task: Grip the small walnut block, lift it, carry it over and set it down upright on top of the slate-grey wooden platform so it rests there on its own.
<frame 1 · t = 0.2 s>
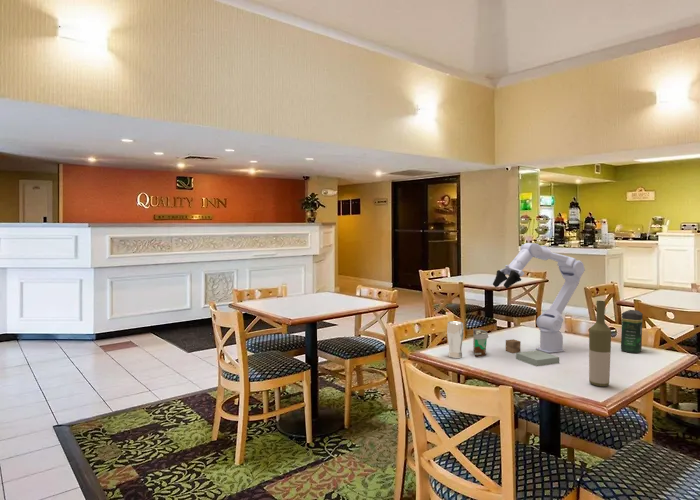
hand: (499, 286, 205), 31 cm above the table, tool tilted 45°, fingers open, 7 cm apart
coffee jar: (631, 351, 215), on the table
bottle: (599, 385, 169), on the table
food container: (481, 354, 211), on the table
beer glass: (455, 357, 207), on the table
grey platform: (537, 362, 200), on the table
walnut block: (512, 351, 215), on the table
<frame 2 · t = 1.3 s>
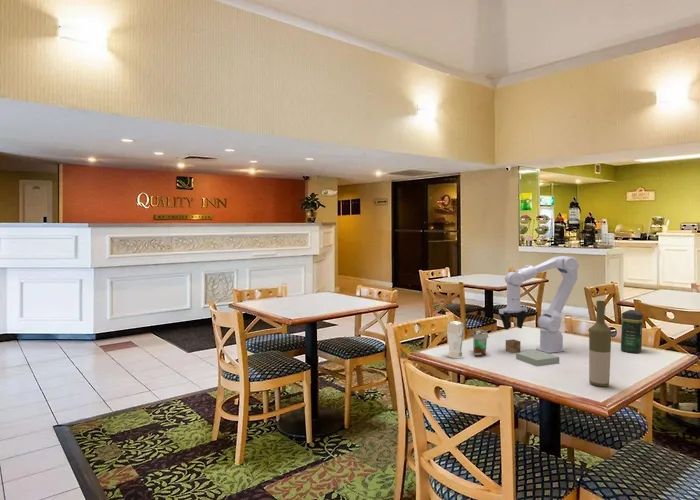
hand: (513, 328, 214), 10 cm above the table, tool pointing down, fingers open, 7 cm apart
nothing on the table moved.
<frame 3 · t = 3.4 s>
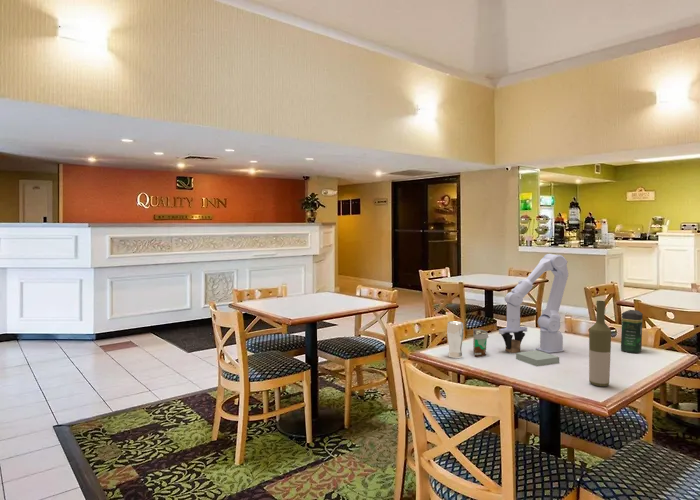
hand: (512, 348, 215), 1 cm above the table, tool pointing down, fingers closed on walnut block, 4 cm apart
walnut block: (512, 351, 215), on the table, touching gripper
everything else where it was.
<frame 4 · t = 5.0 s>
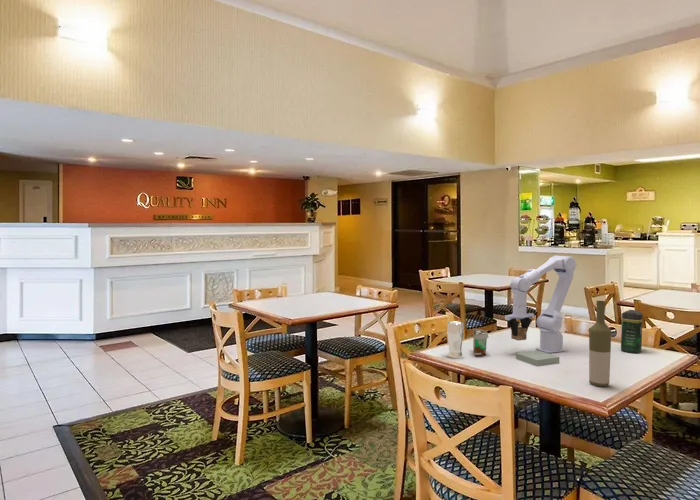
hand: (519, 335, 210), 8 cm above the table, tool pointing down, fingers closed on walnut block, 4 cm apart
walnut block: (518, 339, 211), point 7 cm above the table, touching gripper
everything else where it was.
when the fingers open (5 cm above the table, at t = 7.1 s): walnut block stays where it is, resting on grey platform.
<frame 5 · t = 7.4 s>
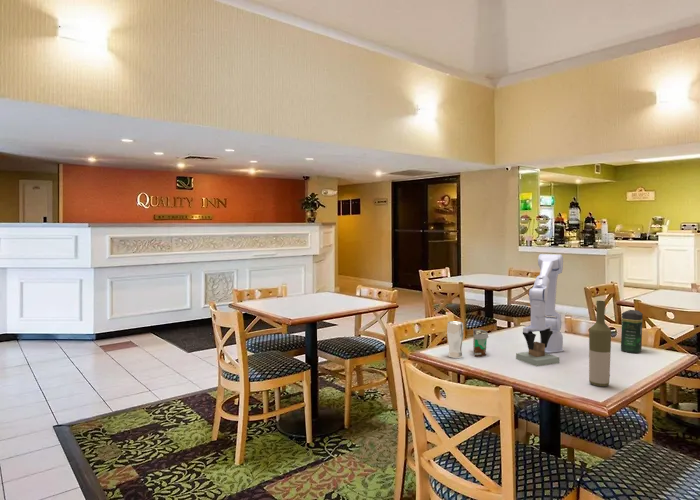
hand: (537, 348, 199), 5 cm above the table, tool pointing down, fingers open, 7 cm apart
grey platform: (537, 362, 200), on the table, touching walnut block
walnut block: (536, 355, 200), point 2 cm above the table, touching grey platform
everything else where it was.
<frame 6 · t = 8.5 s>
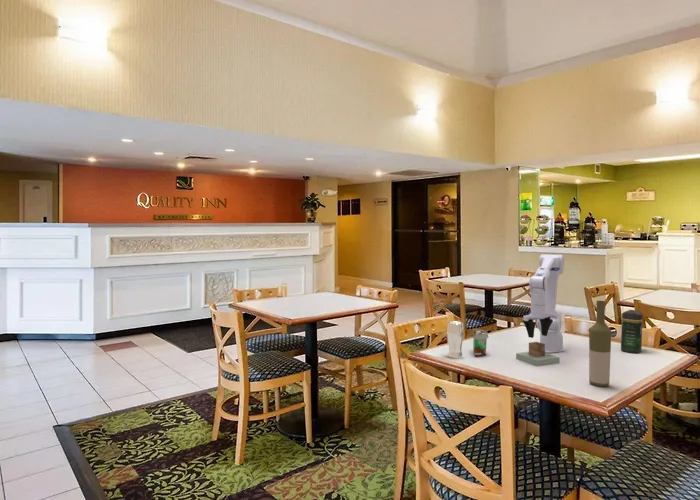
hand: (537, 336, 199), 10 cm above the table, tool pointing down, fingers open, 7 cm apart
nothing on the table moved.
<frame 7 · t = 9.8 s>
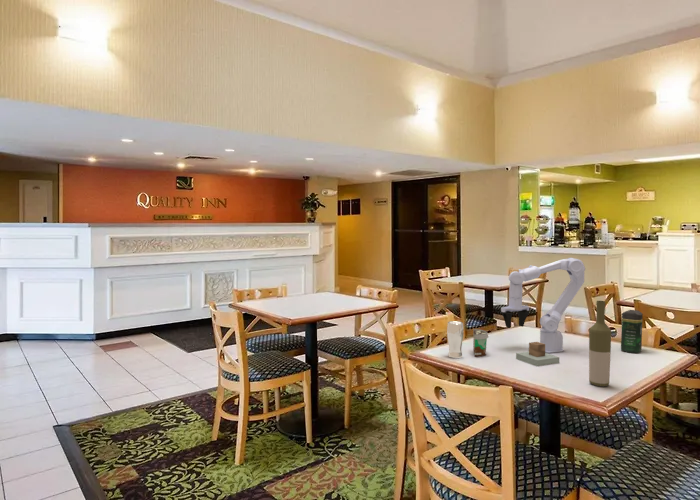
hand: (514, 326, 219), 10 cm above the table, tool pointing down, fingers open, 7 cm apart
nothing on the table moved.
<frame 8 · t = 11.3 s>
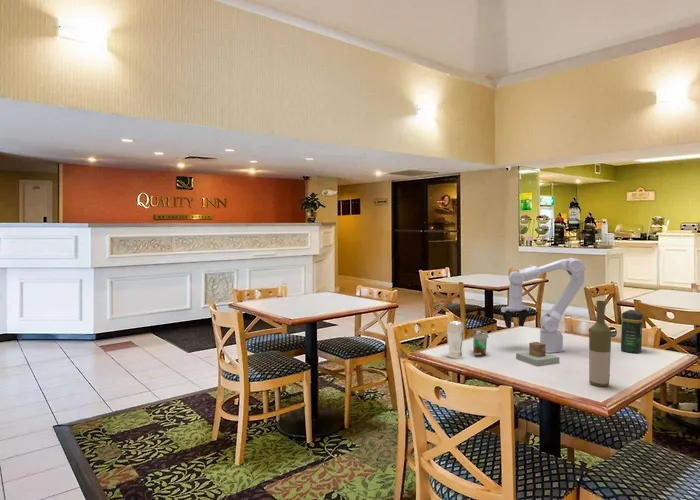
hand: (514, 326, 219), 10 cm above the table, tool pointing down, fingers open, 7 cm apart
nothing on the table moved.
at the end: walnut block inside the target area on the grey platform (0.1 cm from its centre), point 3.0 cm above the grey platform's base; walnut block tilted 0°; the gripper is holding nothing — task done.
